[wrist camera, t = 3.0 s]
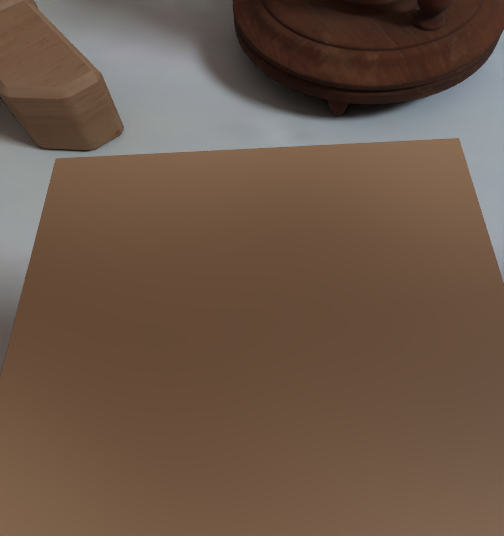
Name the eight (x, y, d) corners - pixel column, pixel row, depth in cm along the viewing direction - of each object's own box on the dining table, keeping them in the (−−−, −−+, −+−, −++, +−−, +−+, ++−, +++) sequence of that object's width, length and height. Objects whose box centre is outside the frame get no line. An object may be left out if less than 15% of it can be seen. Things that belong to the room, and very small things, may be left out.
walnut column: (352, 533, 14) (627, 687, 3) (203, 534, 15) (-79, 683, 3) (336, 381, 17) (459, 138, 5) (208, 385, 17) (56, 159, 6)
